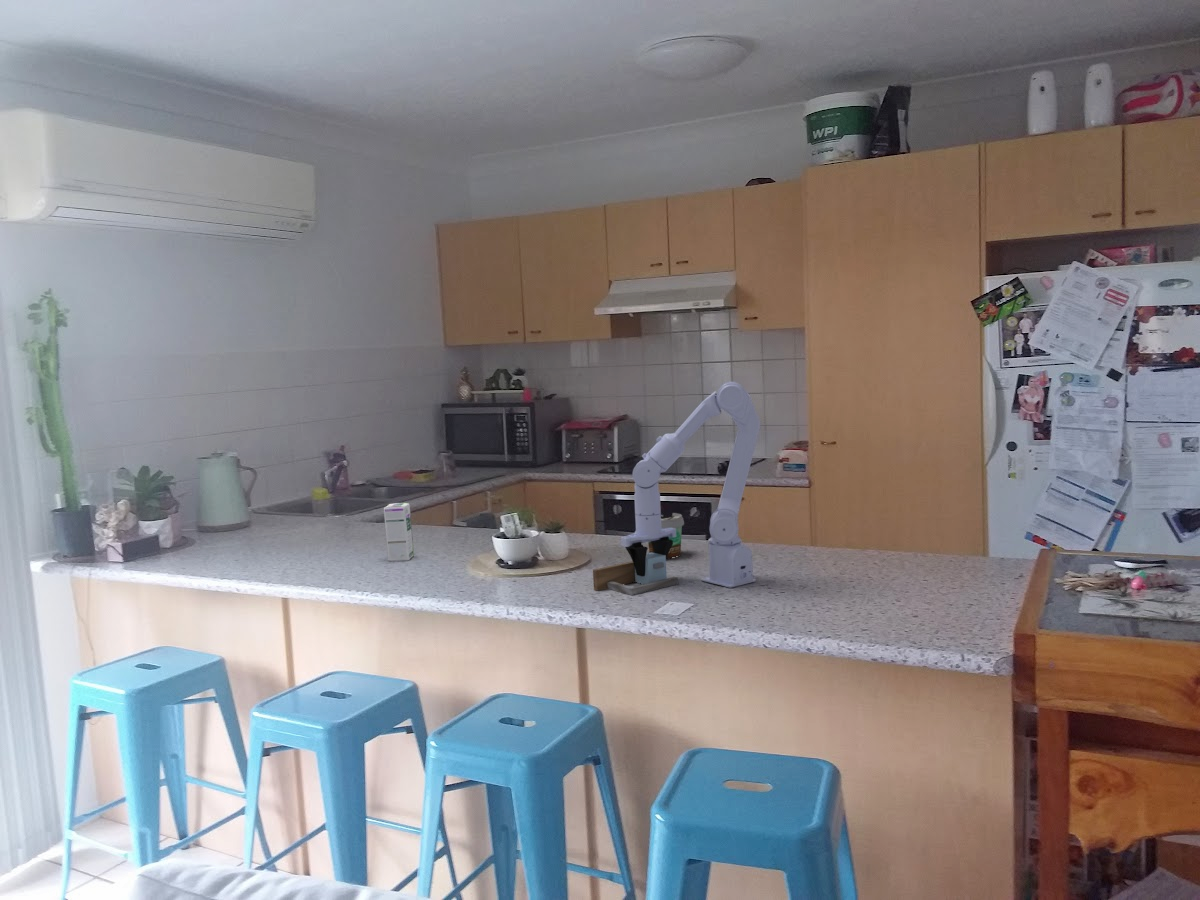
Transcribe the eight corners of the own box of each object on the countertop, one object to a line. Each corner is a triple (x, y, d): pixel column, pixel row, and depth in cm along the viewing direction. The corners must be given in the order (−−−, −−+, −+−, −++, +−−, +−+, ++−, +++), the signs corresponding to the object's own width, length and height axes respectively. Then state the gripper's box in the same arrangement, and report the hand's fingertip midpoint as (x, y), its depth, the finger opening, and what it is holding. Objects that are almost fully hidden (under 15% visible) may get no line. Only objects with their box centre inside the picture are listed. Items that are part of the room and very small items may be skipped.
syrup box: (409, 560, 248) (405, 505, 246) (387, 561, 248) (383, 506, 246) (414, 555, 253) (410, 502, 252) (392, 556, 254) (388, 503, 252)
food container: (666, 562, 232) (664, 522, 230) (646, 560, 235) (644, 520, 234) (695, 553, 241) (693, 514, 240) (675, 550, 245) (673, 512, 244)
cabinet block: (669, 582, 212) (667, 556, 211) (651, 586, 209) (650, 559, 208) (652, 578, 216) (651, 552, 216) (635, 582, 214) (634, 556, 213)
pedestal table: (678, 584, 210) (677, 564, 210) (621, 597, 201) (620, 576, 200) (649, 576, 218) (649, 557, 218) (593, 589, 209) (592, 569, 208)
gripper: (661, 507, 219) (663, 565, 220) (611, 516, 210) (613, 576, 212) (681, 510, 213) (683, 569, 215) (631, 519, 205) (633, 581, 206)
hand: (650, 573), depth 213 cm, fingers closed on cabinet block, 5 cm apart
